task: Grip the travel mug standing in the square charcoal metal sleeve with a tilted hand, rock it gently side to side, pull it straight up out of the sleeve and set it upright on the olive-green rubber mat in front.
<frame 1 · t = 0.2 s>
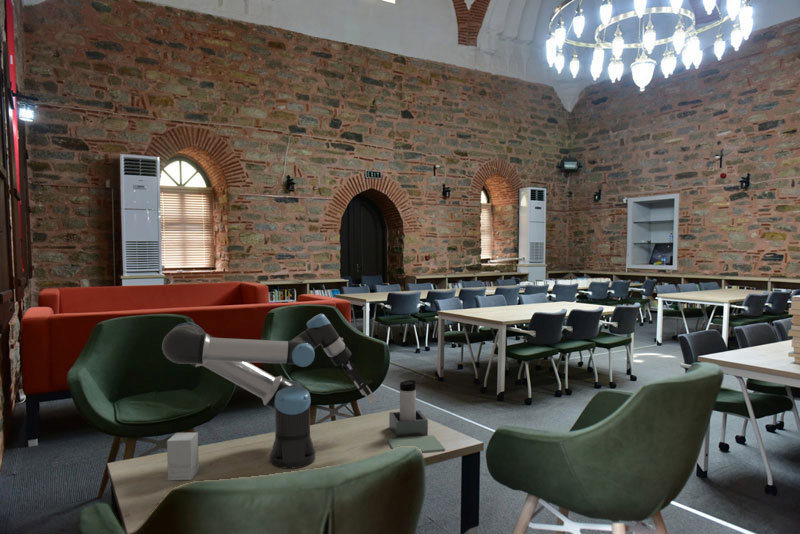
hand: (369, 397, 197), 16 cm above the table, tool tilted 35°, fingers open, 13 cm apart
travel mug: (408, 431, 206), resting in sleeve
sleeve: (408, 431, 206), on the table
supplement box: (183, 476, 165), on the table
mat: (415, 445, 191), on the table
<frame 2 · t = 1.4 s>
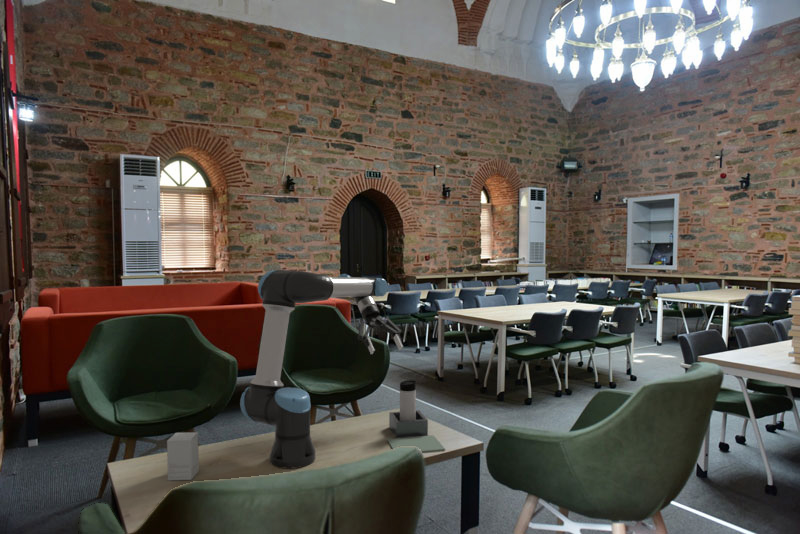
hand: (387, 350, 214), 30 cm above the table, tool tilted 45°, fingers open, 13 cm apart
nothing on the table moved.
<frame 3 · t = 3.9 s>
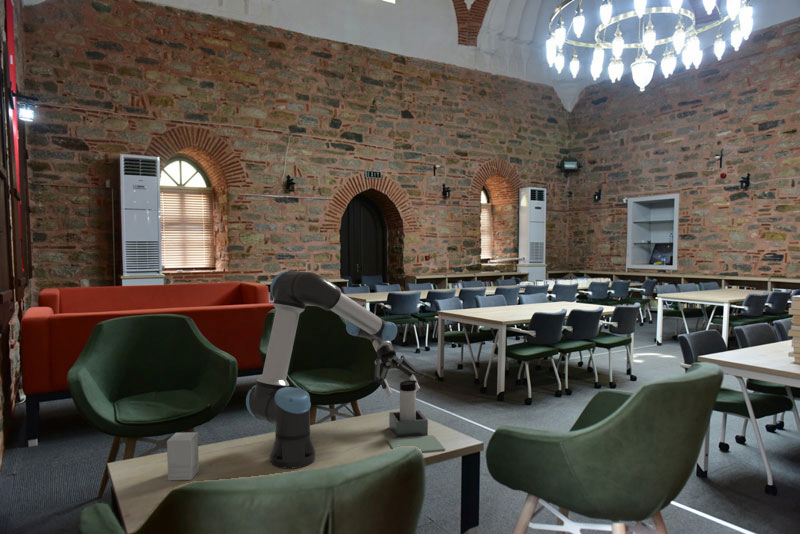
hand: (404, 392, 210), 14 cm above the table, tool tilted 45°, fingers open, 13 cm apart
nothing on the table moved.
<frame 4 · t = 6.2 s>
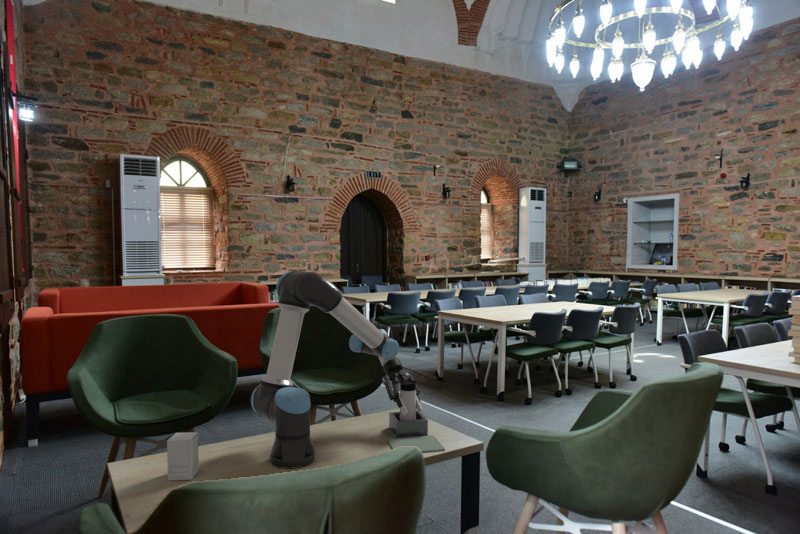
hand: (413, 412, 202), 8 cm above the table, tool tilted 45°, fingers closed on travel mug, 6 cm apart
travel mug: (408, 431, 206), resting in sleeve, touching gripper
everything else where it was.
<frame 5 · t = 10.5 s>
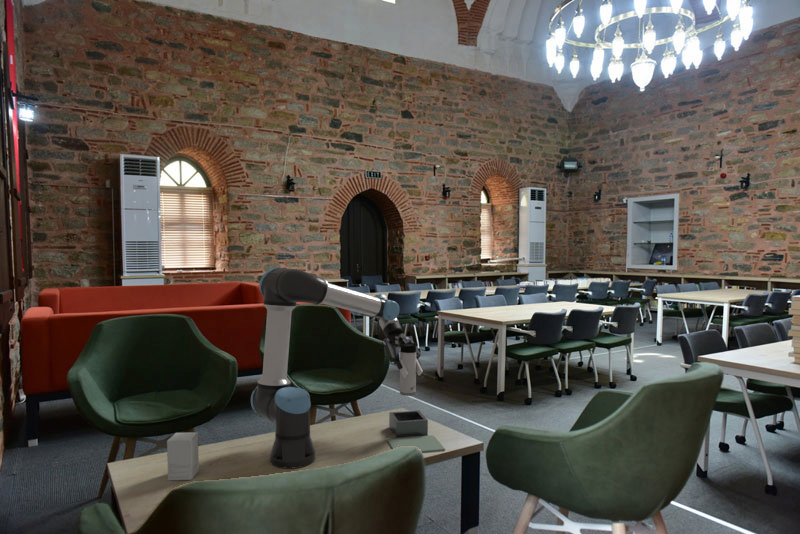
hand: (413, 374, 202), 23 cm above the table, tool tilted 45°, fingers closed on travel mug, 6 cm apart
travel mug: (408, 394, 205), point 15 cm above the table, touching gripper
everything else where it was.
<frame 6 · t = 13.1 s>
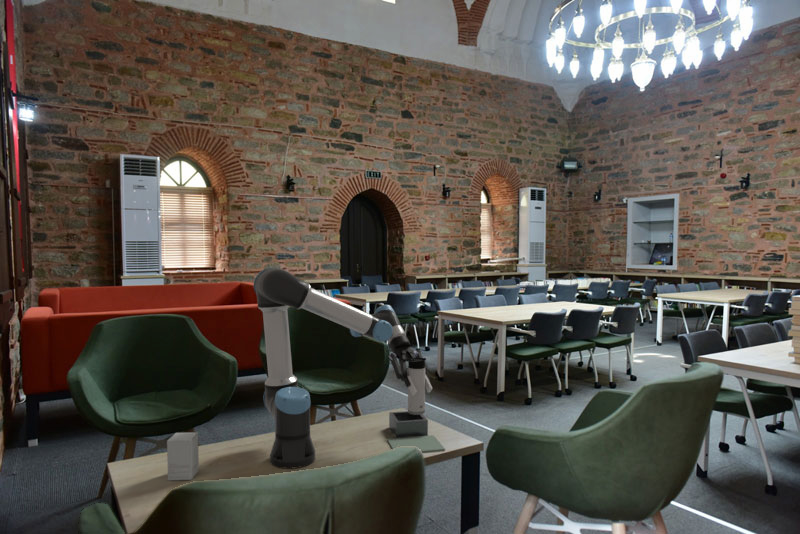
hand: (422, 391, 189), 20 cm above the table, tool tilted 45°, fingers closed on travel mug, 6 cm apart
travel mug: (416, 412, 192), point 12 cm above the table, touching gripper
everything else where it was.
when the fingers open (10 cm above the table, at t = 15.1 s): travel mug drops 1 cm, resting on mat.
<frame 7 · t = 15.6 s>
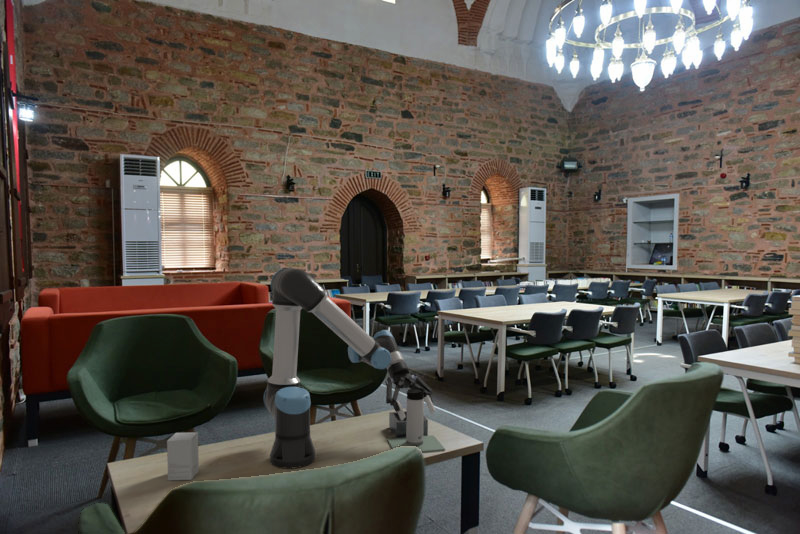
hand: (418, 415, 189), 11 cm above the table, tool tilted 45°, fingers open, 13 cm apart
travel mug: (415, 443, 192), resting on mat
everything else where it was.
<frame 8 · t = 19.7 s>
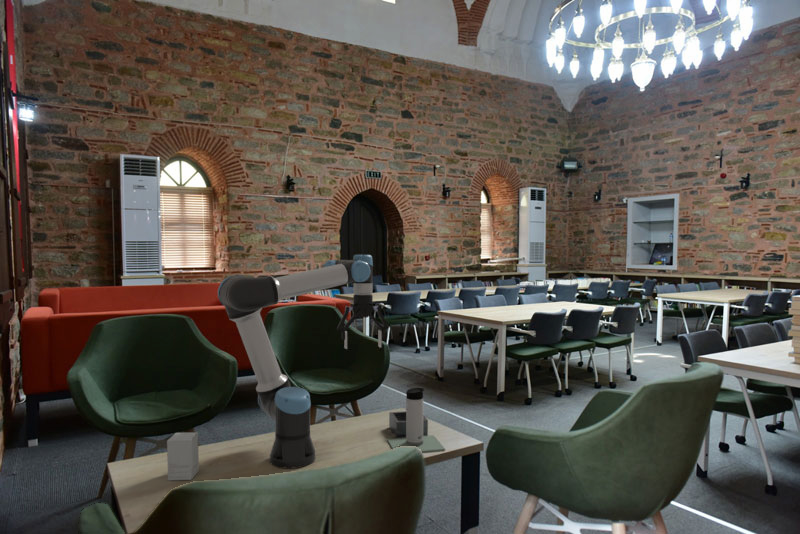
hand: (362, 347, 206), 33 cm above the table, tool pointing down, fingers open, 13 cm apart
nothing on the table moved.
at the end: travel mug inside the target area on the mat (1.2 cm from its centre), point 0.4 cm above the mat's base; travel mug tilted 0°; the gripper is holding nothing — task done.
